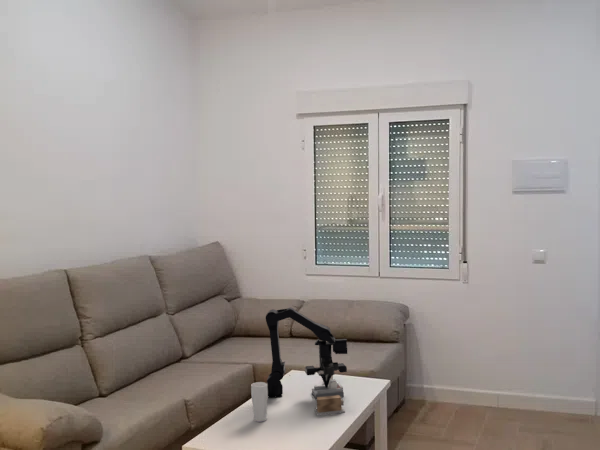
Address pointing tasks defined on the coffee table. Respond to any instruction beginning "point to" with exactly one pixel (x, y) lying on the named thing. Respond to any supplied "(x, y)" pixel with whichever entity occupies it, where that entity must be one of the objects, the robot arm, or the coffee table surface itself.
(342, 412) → the pad
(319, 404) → the brown rectangular block
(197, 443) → the coffee table surface
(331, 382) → the toggle
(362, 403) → the coffee table surface
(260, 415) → the drinking glass
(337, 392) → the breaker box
